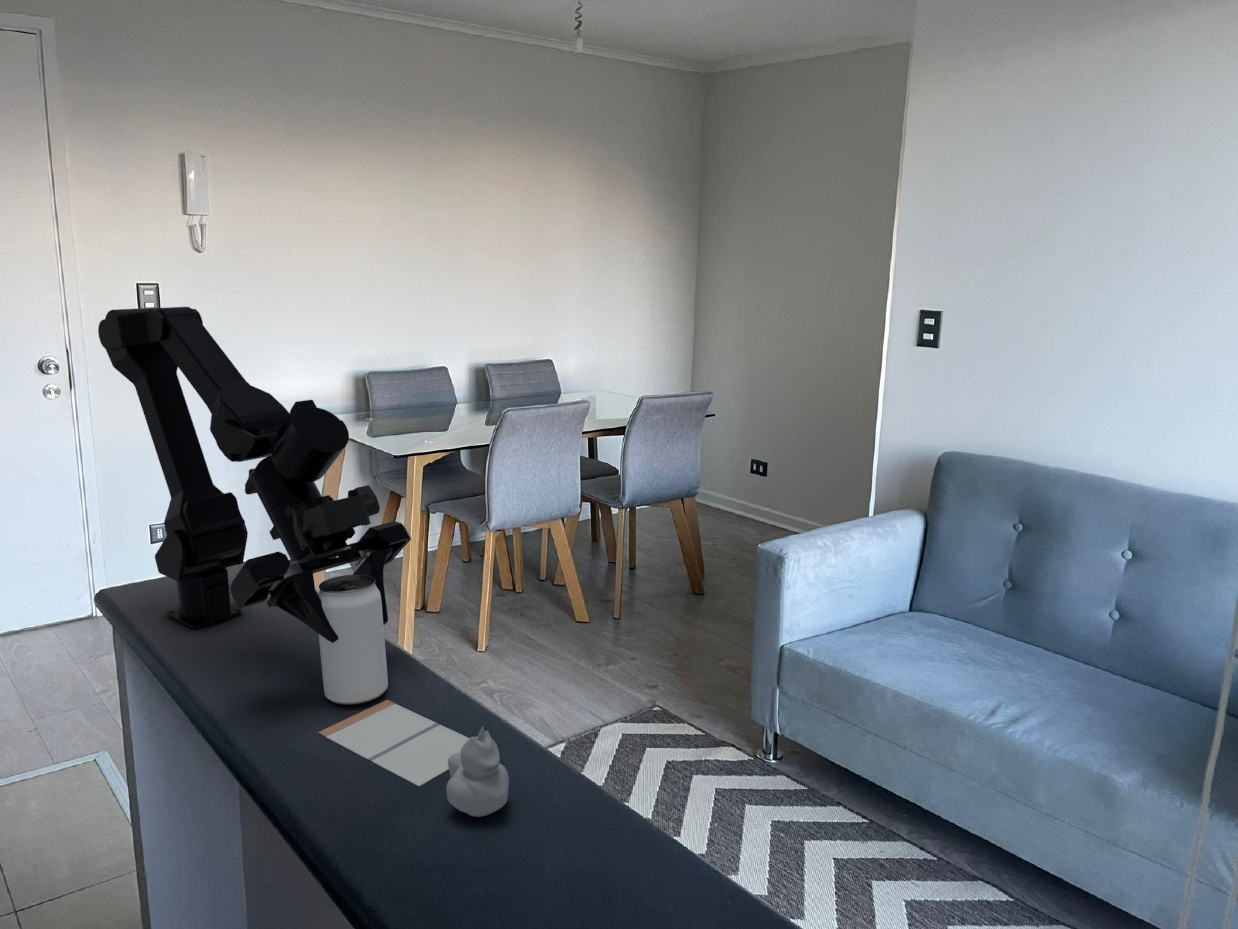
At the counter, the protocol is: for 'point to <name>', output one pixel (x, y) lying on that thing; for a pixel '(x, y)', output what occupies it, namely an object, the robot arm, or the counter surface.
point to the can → (353, 640)
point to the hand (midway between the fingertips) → (360, 632)
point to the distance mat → (398, 741)
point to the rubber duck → (477, 777)
